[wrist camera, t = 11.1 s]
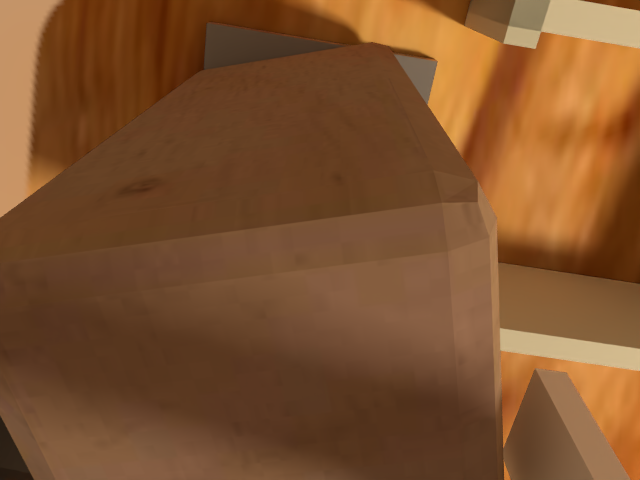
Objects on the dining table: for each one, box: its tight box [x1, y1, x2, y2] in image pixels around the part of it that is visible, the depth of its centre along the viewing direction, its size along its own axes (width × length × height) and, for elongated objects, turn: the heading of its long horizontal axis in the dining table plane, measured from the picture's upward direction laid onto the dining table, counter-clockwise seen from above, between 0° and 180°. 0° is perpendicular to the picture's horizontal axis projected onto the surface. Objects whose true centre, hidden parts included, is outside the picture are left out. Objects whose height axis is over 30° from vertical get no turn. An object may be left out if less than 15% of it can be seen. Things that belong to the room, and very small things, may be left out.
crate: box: [464, 0, 640, 371], centre depth 26 cm, size 18×15×7 cm
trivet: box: [204, 22, 438, 104], centre depth 29 cm, size 11×11×1 cm
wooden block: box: [0, 42, 504, 480], centre depth 20 cm, size 10×10×20 cm
